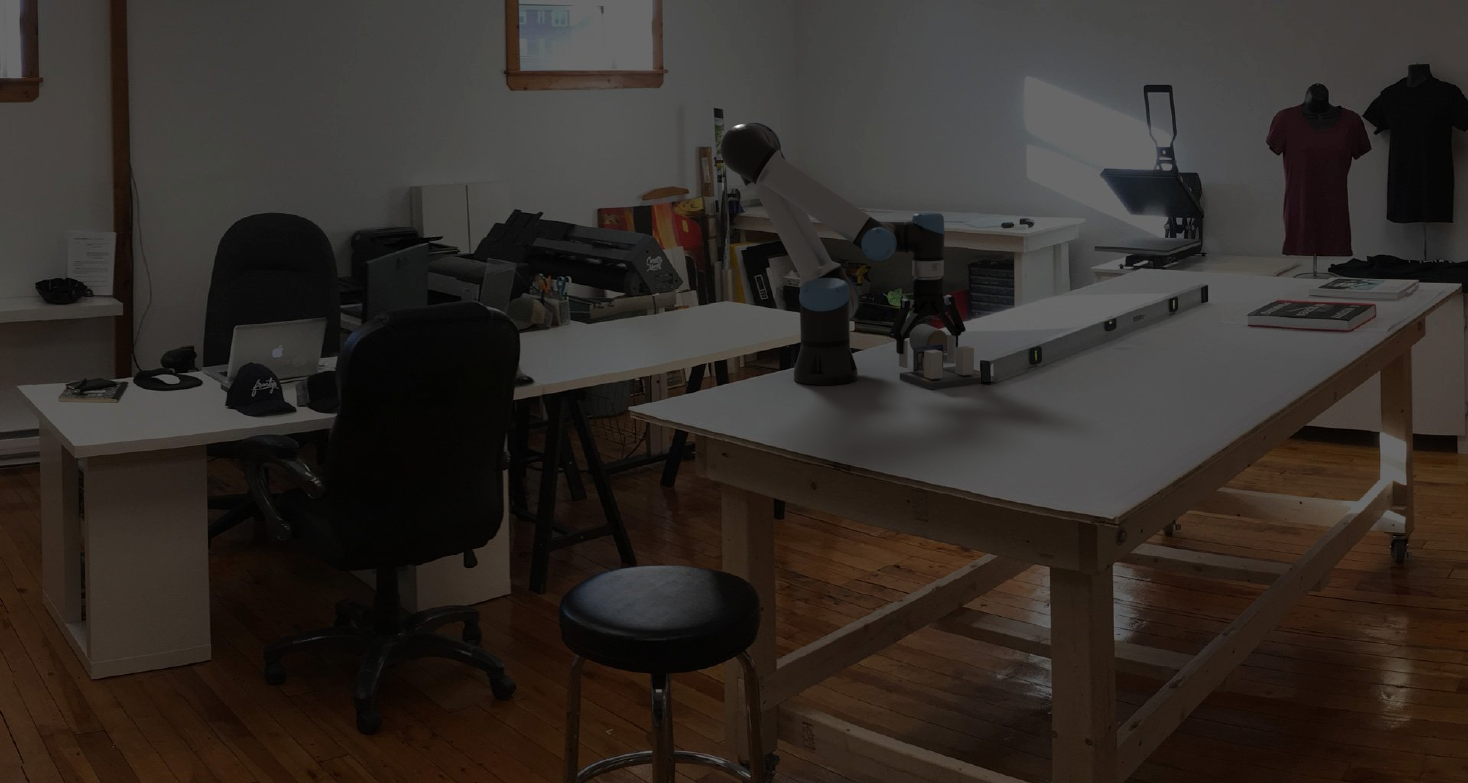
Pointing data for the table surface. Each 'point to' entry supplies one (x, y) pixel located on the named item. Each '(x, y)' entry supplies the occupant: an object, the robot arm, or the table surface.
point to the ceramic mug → (927, 336)
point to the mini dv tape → (919, 355)
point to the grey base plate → (942, 379)
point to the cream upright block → (933, 364)
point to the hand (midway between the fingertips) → (927, 364)
